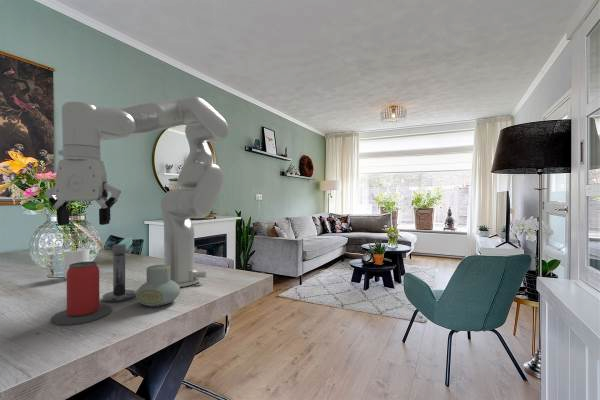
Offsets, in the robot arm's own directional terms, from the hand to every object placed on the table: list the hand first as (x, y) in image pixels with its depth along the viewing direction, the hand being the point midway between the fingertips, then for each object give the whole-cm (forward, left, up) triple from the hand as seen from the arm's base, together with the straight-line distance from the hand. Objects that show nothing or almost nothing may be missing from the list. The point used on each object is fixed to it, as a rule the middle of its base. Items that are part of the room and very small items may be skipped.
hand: (84, 224), depth 75 cm
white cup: (+26, -38, -22) cm, 51 cm away
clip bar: (+1, -21, -9) cm, 23 cm away
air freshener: (-15, -8, -23) cm, 28 cm away
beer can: (0, 0, -22) cm, 22 cm away
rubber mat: (0, 0, -22) cm, 22 cm away
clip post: (-2, -13, -22) cm, 26 cm away
